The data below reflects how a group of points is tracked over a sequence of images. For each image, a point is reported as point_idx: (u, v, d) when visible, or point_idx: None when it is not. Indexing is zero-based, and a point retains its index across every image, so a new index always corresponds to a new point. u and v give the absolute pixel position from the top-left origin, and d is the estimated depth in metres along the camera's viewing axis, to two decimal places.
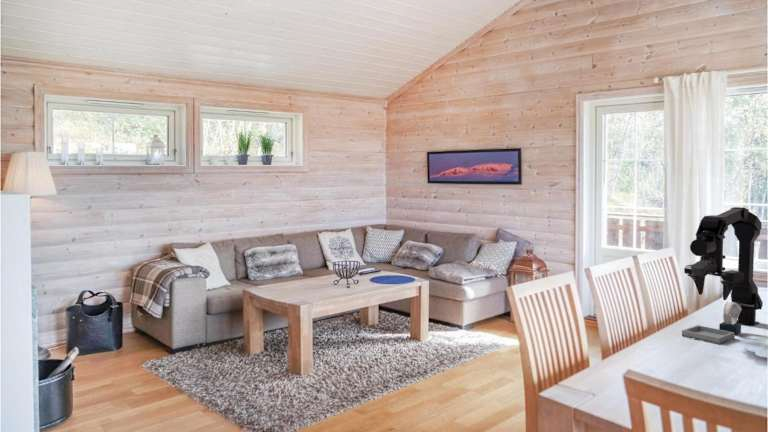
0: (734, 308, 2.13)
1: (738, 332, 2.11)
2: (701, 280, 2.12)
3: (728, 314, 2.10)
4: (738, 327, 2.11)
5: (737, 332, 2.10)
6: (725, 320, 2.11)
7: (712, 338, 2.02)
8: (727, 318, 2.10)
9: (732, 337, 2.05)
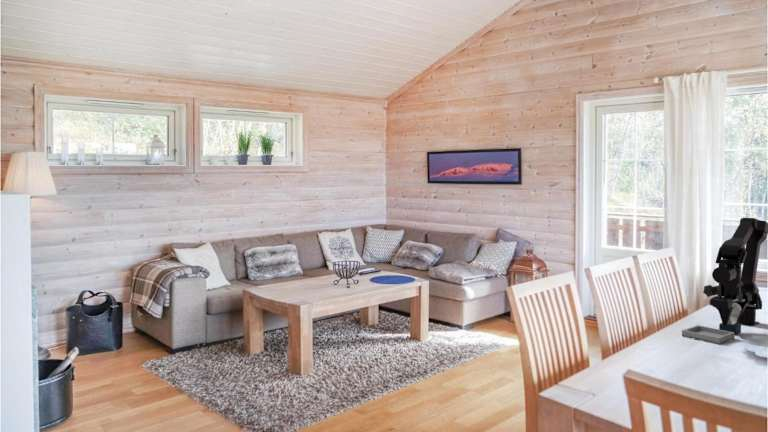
0: (734, 308, 2.13)
1: (738, 332, 2.11)
2: None
3: None
4: (738, 327, 2.11)
5: (737, 332, 2.10)
6: None
7: (712, 338, 2.02)
8: None
9: (732, 337, 2.05)
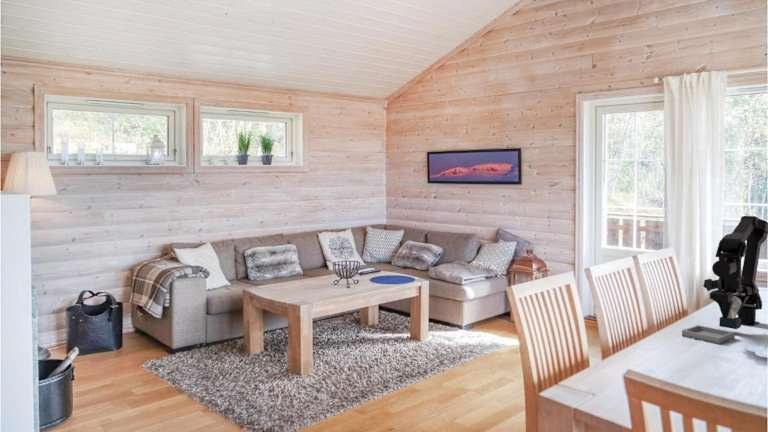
0: (734, 302, 2.13)
1: (738, 326, 2.11)
2: None
3: None
4: (738, 321, 2.10)
5: (737, 326, 2.10)
6: None
7: (712, 338, 2.02)
8: None
9: (732, 337, 2.05)
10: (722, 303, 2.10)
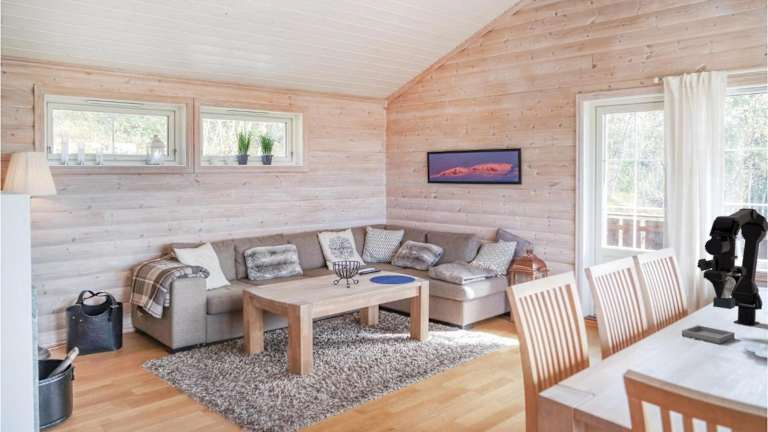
0: (728, 282, 2.10)
1: (732, 306, 2.08)
2: None
3: None
4: (732, 301, 2.08)
5: (731, 306, 2.08)
6: None
7: (712, 338, 2.02)
8: None
9: (732, 337, 2.05)
10: (716, 283, 2.07)
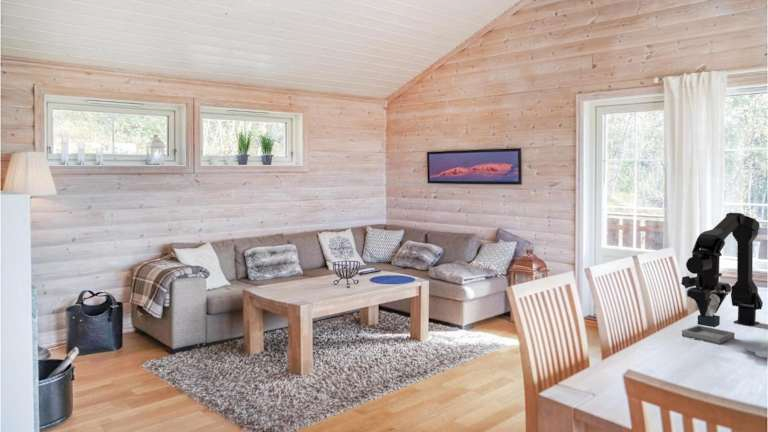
0: (712, 299, 2.08)
1: (716, 324, 2.06)
2: None
3: None
4: (716, 319, 2.05)
5: (715, 324, 2.05)
6: None
7: (712, 338, 2.02)
8: None
9: (732, 337, 2.05)
10: (700, 301, 2.05)
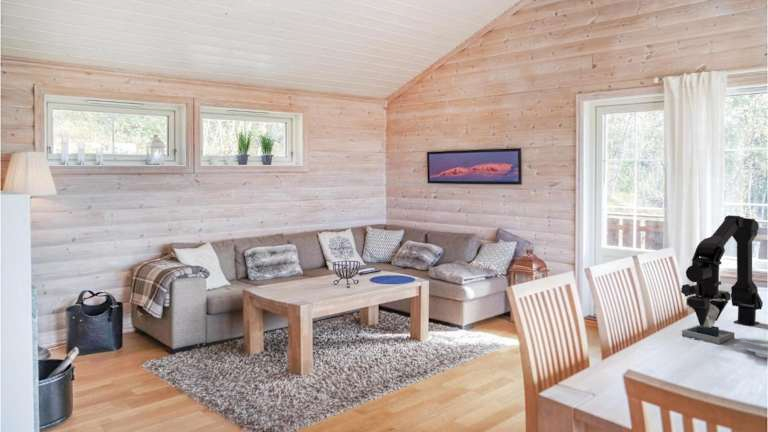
0: (712, 310, 2.08)
1: (716, 335, 2.06)
2: (717, 307, 2.10)
3: None
4: (715, 330, 2.06)
5: (714, 335, 2.05)
6: None
7: (712, 338, 2.02)
8: None
9: (732, 337, 2.05)
10: (698, 309, 2.04)
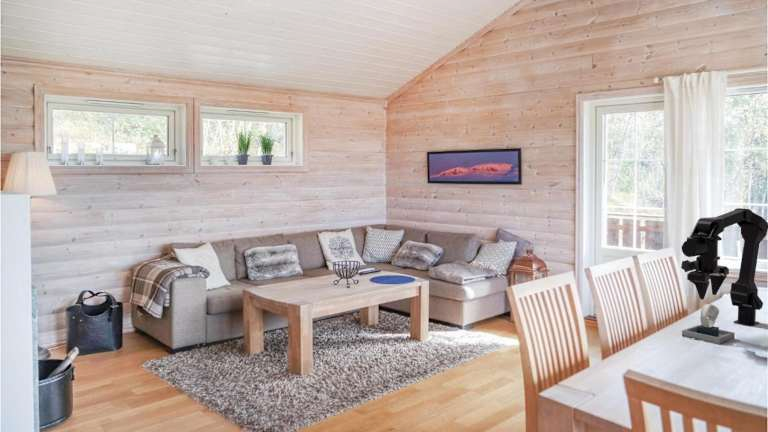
0: (712, 310, 2.08)
1: (716, 335, 2.06)
2: (716, 281, 2.16)
3: (705, 317, 2.04)
4: (716, 330, 2.06)
5: (714, 335, 2.05)
6: (702, 323, 2.06)
7: (712, 338, 2.02)
8: (704, 321, 2.05)
9: (732, 337, 2.05)
10: (699, 284, 2.11)
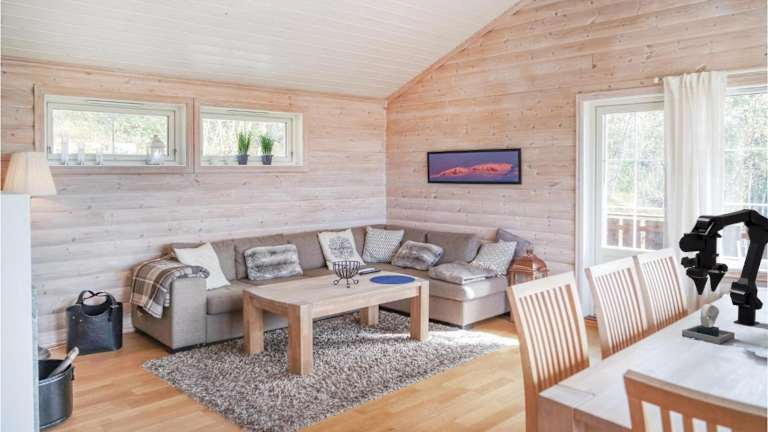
0: (712, 310, 2.08)
1: (716, 335, 2.06)
2: (715, 278, 2.20)
3: (705, 317, 2.04)
4: (716, 330, 2.06)
5: (714, 335, 2.05)
6: (702, 323, 2.06)
7: (712, 338, 2.02)
8: (704, 321, 2.05)
9: (732, 337, 2.05)
10: (697, 280, 2.15)
